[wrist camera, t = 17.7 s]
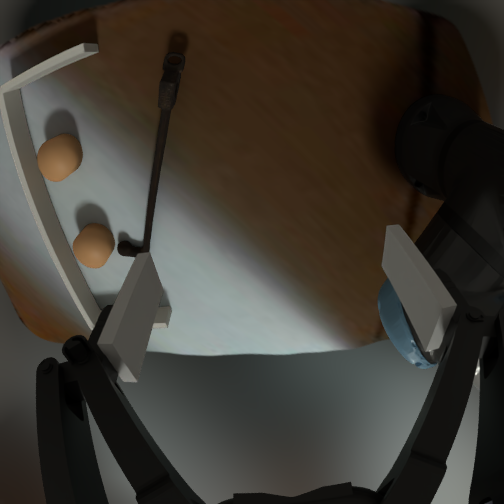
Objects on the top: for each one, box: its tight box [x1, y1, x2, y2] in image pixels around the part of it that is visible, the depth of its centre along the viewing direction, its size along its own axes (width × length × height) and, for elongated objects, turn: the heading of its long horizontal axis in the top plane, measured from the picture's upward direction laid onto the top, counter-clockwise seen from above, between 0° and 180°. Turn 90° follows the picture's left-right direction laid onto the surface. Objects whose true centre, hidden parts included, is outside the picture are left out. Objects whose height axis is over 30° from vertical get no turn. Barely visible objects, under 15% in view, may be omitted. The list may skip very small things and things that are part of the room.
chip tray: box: [0, 43, 172, 330], centre depth 39 cm, size 16×44×4 cm, turn 7°
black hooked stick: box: [117, 52, 185, 257], centre depth 37 cm, size 5×5×30 cm
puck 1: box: [37, 134, 83, 182], centre depth 35 cm, size 6×6×4 cm
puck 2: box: [73, 223, 115, 268], centre depth 43 cm, size 6×6×4 cm
